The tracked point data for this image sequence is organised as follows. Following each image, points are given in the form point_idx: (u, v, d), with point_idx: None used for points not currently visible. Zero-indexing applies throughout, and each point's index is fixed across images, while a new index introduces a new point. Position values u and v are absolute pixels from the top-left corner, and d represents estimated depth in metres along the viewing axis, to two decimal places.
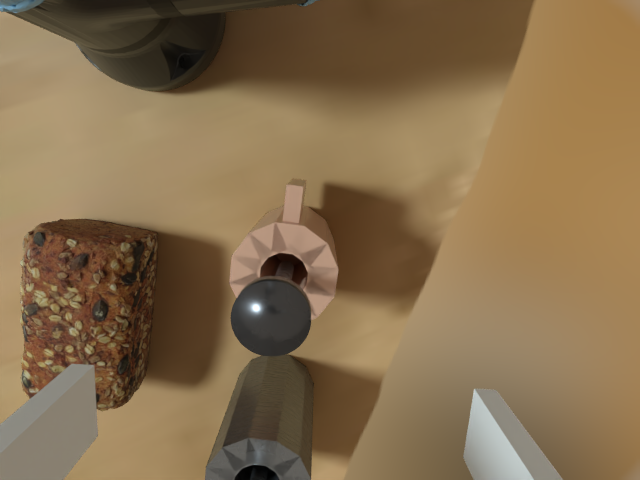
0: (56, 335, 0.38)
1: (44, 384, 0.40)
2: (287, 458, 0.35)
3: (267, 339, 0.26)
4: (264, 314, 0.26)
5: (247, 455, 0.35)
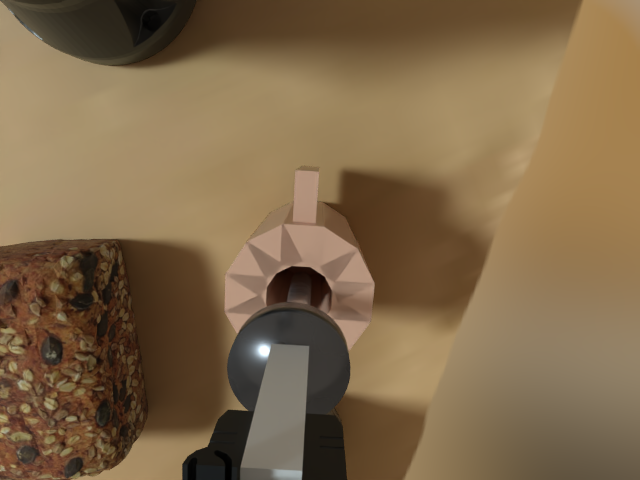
0: (3, 394, 0.29)
1: (8, 459, 0.31)
2: None
3: None
4: None
5: None
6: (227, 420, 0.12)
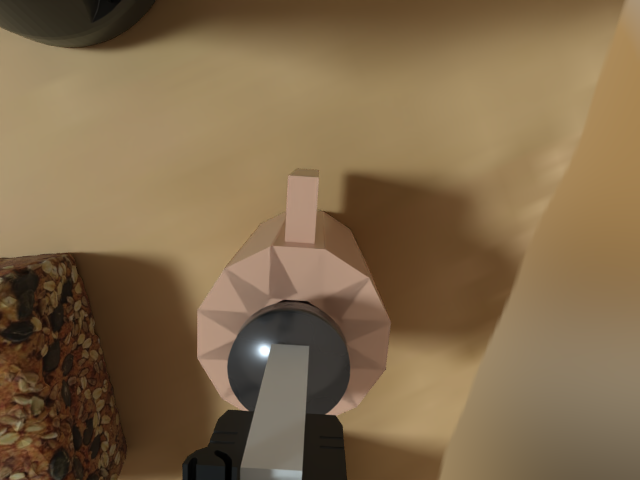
0: None
1: None
2: None
3: None
4: None
5: None
6: (227, 420, 0.12)
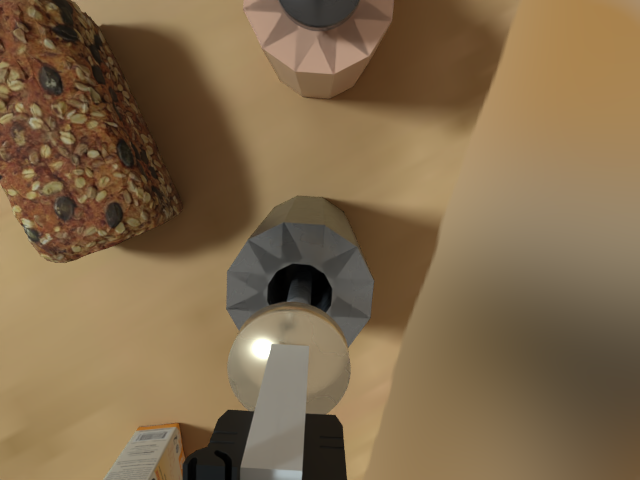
0: (20, 140, 0.29)
1: (50, 221, 0.31)
2: (340, 251, 0.25)
3: (316, 1, 0.22)
4: None
5: (283, 249, 0.25)
6: (227, 420, 0.12)
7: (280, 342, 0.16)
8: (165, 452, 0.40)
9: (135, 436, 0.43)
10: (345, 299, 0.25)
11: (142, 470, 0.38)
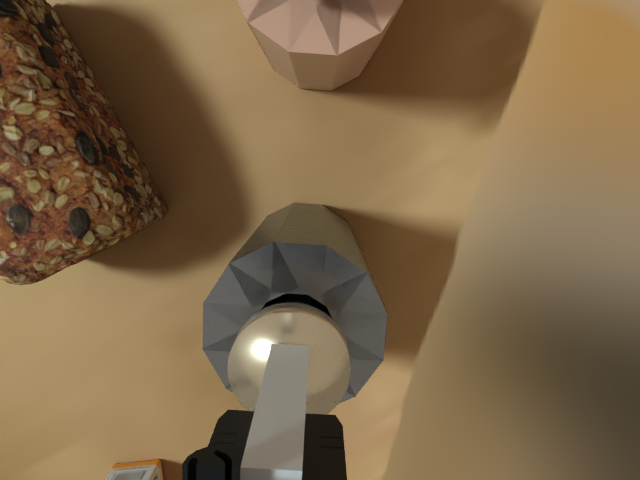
0: None
1: (3, 236, 0.25)
2: (345, 277, 0.20)
3: None
4: None
5: (274, 276, 0.20)
6: (227, 420, 0.12)
7: (280, 343, 0.16)
8: None
9: (109, 476, 0.37)
10: (351, 337, 0.20)
11: None
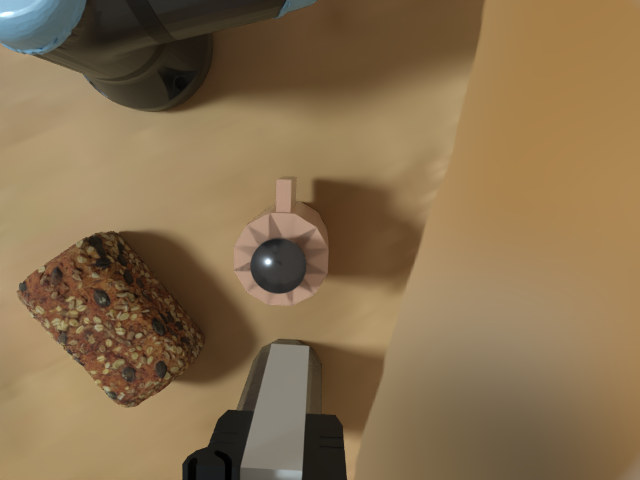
0: (91, 340, 0.43)
1: (121, 384, 0.45)
2: None
3: (277, 281, 0.37)
4: (273, 263, 0.37)
5: None
6: (227, 420, 0.12)
7: None
8: None
9: None
10: None
11: None
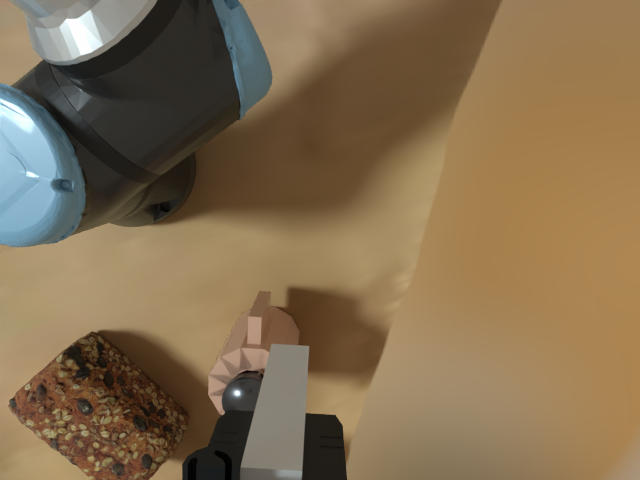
0: (80, 444, 0.48)
1: (112, 478, 0.49)
2: None
3: None
4: (242, 399, 0.41)
5: None
6: (227, 420, 0.12)
7: None
8: None
9: None
10: None
11: None
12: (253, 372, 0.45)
